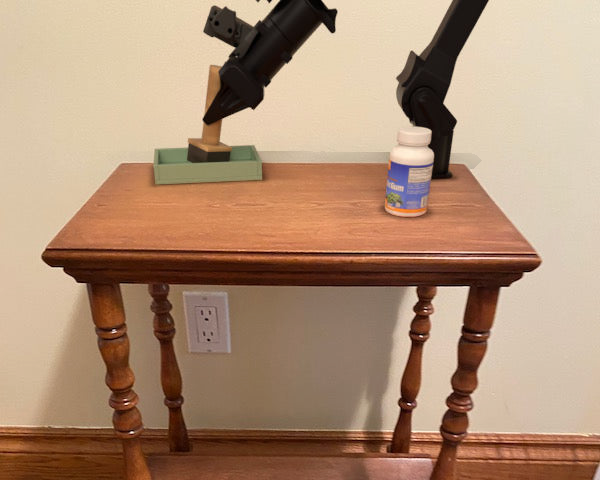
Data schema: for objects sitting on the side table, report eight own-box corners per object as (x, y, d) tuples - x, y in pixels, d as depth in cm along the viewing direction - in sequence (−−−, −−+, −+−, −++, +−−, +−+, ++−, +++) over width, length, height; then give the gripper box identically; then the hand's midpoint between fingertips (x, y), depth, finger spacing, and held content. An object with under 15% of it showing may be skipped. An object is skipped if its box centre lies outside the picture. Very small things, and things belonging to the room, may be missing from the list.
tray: (254, 162, 98) (254, 144, 97) (262, 179, 91) (261, 161, 89) (156, 166, 96) (154, 148, 95) (155, 184, 89) (153, 165, 87)
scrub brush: (229, 168, 93) (242, 72, 86) (205, 169, 90) (217, 69, 83) (209, 159, 96) (221, 64, 88) (185, 160, 92) (195, 61, 85)
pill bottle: (377, 206, 81) (383, 126, 75) (413, 202, 83) (422, 123, 77) (396, 220, 77) (404, 136, 71) (435, 215, 78) (446, 132, 73)
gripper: (243, -22, 88) (172, 66, 94) (232, -18, 72) (148, 86, 79) (298, 43, 92) (227, 123, 98) (299, 60, 77) (215, 153, 83)
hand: (206, 120), depth 90 cm, fingers closed on scrub brush, 2 cm apart
